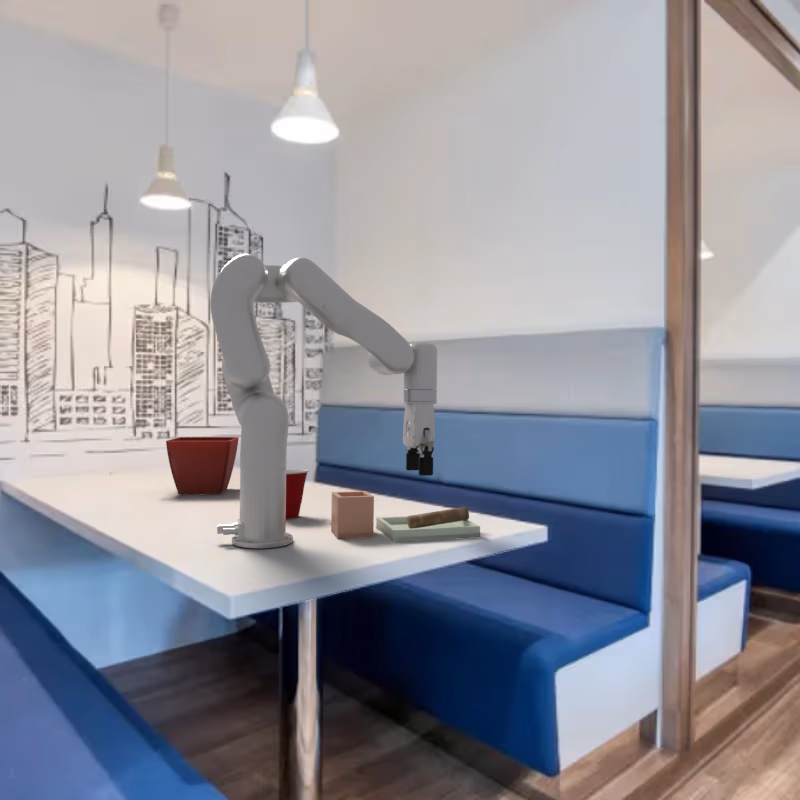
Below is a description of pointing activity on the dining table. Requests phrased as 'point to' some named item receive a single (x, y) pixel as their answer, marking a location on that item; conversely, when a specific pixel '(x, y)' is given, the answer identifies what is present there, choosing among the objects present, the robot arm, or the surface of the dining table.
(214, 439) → the plant pot
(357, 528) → the pink square bin
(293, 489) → the plastic cup
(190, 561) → the dining table surface
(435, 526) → the tray
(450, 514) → the dowel
